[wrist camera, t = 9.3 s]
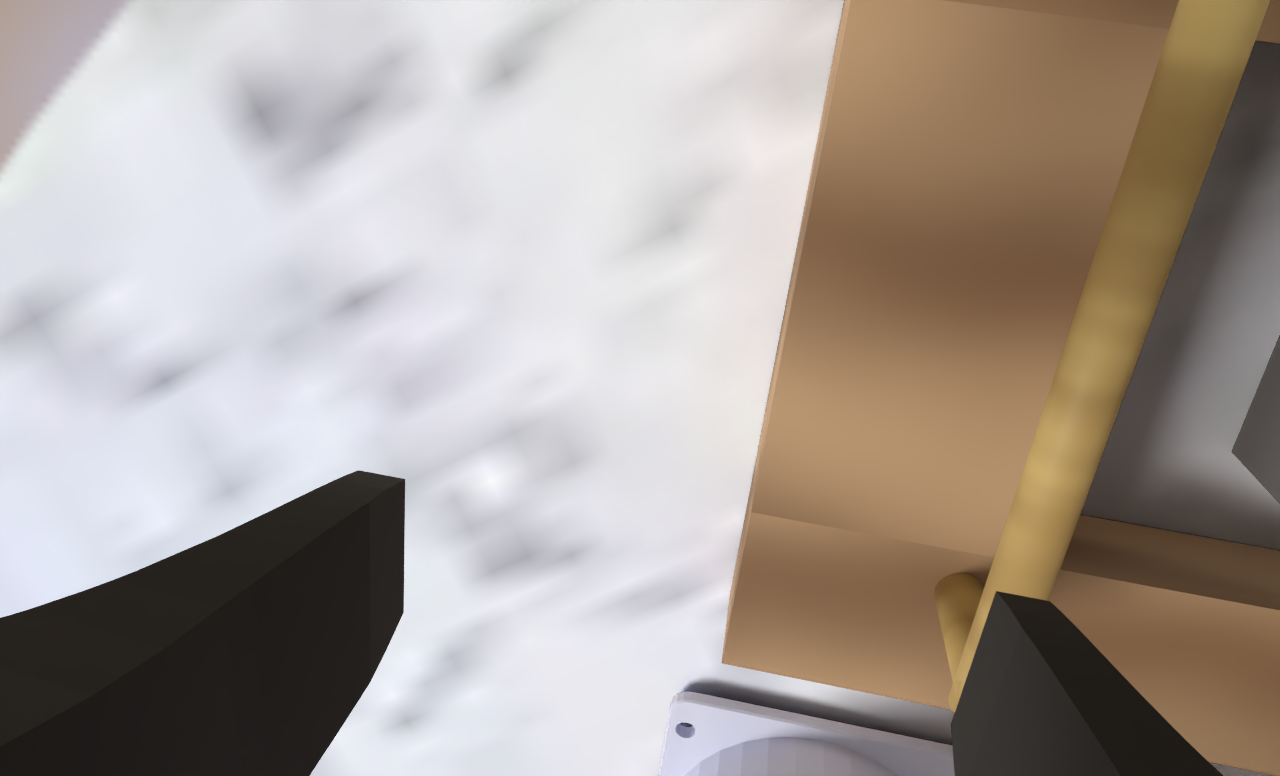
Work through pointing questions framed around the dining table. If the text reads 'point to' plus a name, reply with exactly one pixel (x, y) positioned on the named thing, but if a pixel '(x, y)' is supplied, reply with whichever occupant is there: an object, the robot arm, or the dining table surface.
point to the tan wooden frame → (997, 360)
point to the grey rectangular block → (1263, 429)
